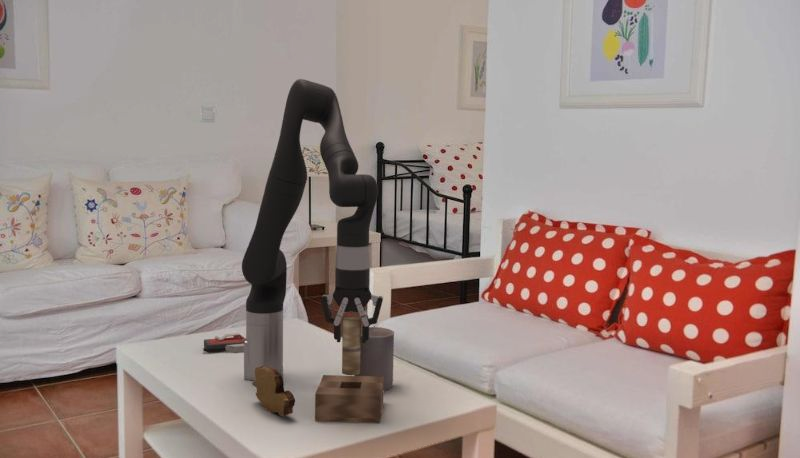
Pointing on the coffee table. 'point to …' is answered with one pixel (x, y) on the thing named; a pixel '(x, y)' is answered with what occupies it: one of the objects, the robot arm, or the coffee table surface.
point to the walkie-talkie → (225, 344)
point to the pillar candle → (378, 355)
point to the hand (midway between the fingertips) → (351, 341)
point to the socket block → (349, 399)
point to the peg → (351, 346)
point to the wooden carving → (273, 391)
